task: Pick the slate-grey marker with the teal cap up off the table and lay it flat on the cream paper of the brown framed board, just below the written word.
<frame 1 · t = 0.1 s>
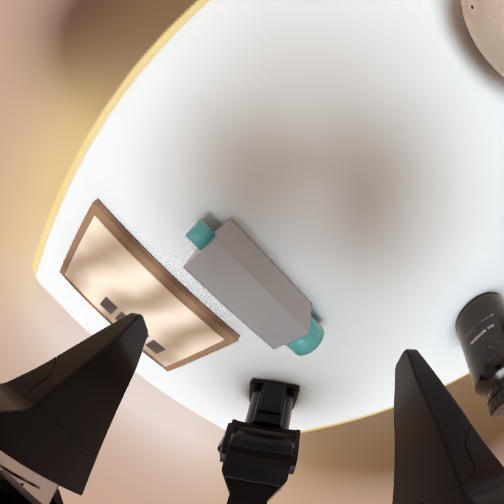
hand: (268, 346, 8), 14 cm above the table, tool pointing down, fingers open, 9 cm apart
beige ball: (489, 35, 9), on the table
supplement bottle: (478, 314, 22), on the table
brown framed board: (136, 300, 31), on the table
marker: (258, 273, 25), on the table
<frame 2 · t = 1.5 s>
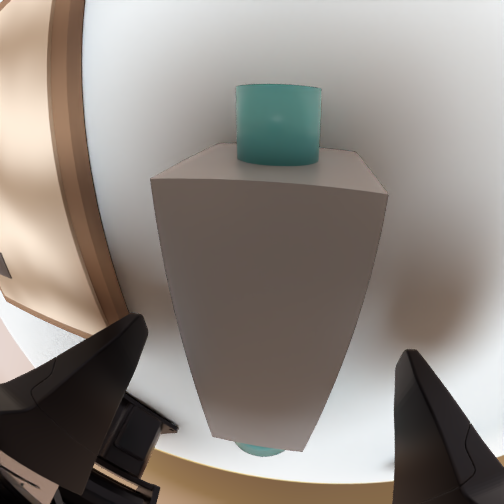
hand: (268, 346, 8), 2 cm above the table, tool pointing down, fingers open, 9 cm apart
brown framed board: (6, 170, 10), on the table
marker: (279, 295, 10), on the table
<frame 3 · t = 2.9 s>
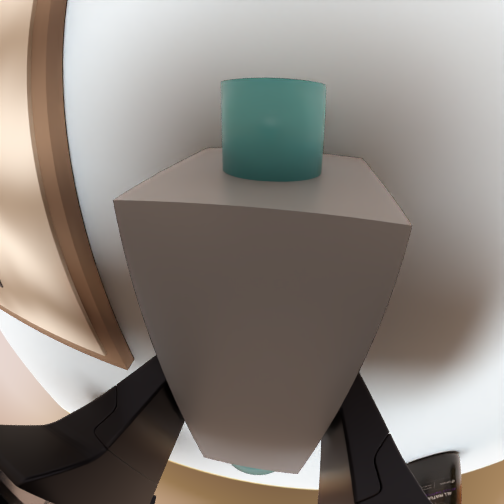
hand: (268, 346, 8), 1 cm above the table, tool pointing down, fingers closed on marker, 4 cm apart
supplement bottle: (426, 461, 16), on the table
marker: (274, 315, 9), on the table, touching gripper
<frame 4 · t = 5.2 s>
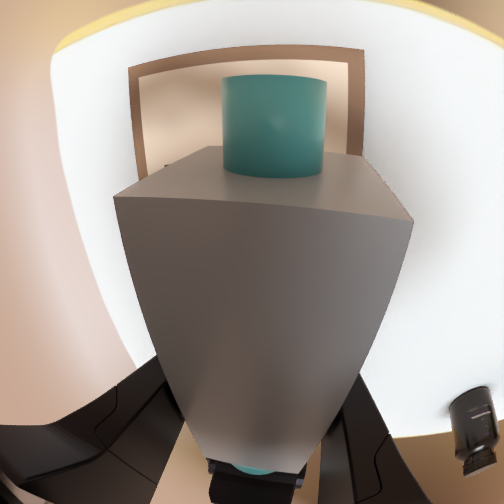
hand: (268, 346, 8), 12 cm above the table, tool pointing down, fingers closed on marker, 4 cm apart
supplement bottle: (468, 398, 26), on the table
brown framed board: (242, 204, 19), on the table
marker: (274, 314, 9), point 10 cm above the table, touching gripper
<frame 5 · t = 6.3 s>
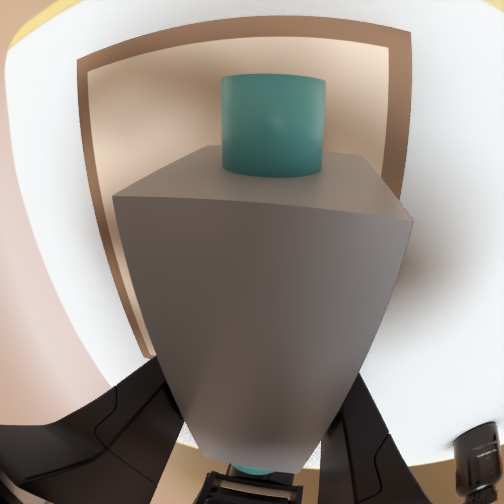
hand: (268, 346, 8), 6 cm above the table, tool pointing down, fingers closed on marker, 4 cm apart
supplement bottle: (474, 432, 21), on the table
brown framed board: (227, 246, 14), on the table
marker: (274, 314, 9), point 5 cm above the table, touching gripper
when the fingers open (4 cm above the table, at t = 7.5 s): marker drops 1 cm, resting on brown framed board.
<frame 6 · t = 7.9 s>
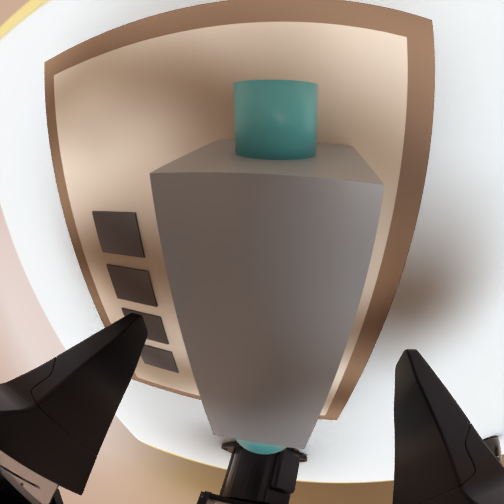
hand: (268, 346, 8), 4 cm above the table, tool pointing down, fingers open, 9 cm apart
supplement bottle: (476, 446, 19), on the table
brown framed board: (213, 272, 12), on the table
marker: (279, 291, 10), point 1 cm above the table, touching brown framed board
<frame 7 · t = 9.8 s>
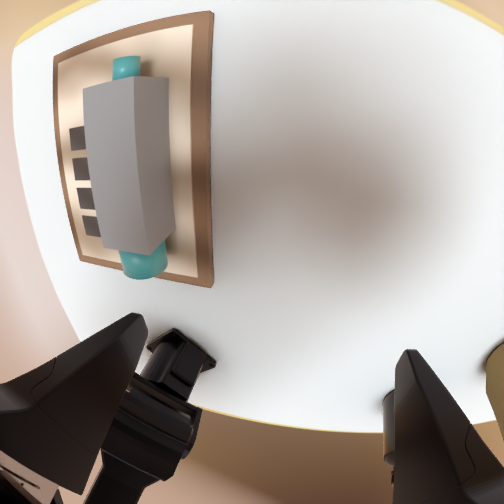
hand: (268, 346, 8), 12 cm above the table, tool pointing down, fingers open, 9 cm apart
supplement bottle: (406, 395, 27), on the table
brown framed board: (122, 157, 19), on the table
squeeze bottle: (503, 351, 21), on the table
marker: (146, 156, 18), point 1 cm above the table, touching brown framed board
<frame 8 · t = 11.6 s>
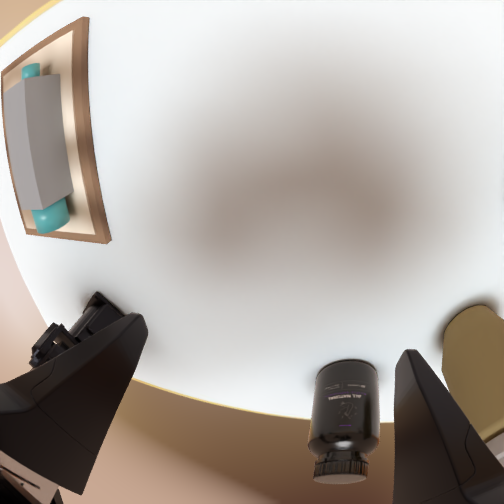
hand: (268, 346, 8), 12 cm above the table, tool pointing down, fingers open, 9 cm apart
supplement bottle: (346, 375, 27), on the table
brown framed board: (43, 141, 20), on the table
squeeze bottle: (467, 324, 20), on the table
marker: (51, 136, 18), point 1 cm above the table, touching brown framed board
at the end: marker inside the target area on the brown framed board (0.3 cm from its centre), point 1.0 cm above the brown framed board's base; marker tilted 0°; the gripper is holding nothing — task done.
